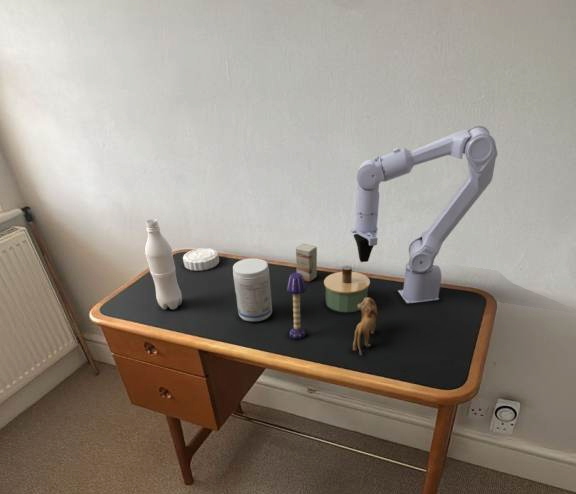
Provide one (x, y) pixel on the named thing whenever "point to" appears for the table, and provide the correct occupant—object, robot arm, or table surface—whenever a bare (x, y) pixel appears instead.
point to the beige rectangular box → (307, 261)
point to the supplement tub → (252, 289)
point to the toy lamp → (296, 303)
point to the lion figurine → (365, 322)
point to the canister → (345, 300)
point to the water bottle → (162, 267)
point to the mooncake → (201, 259)
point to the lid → (346, 281)
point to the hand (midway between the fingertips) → (363, 260)
